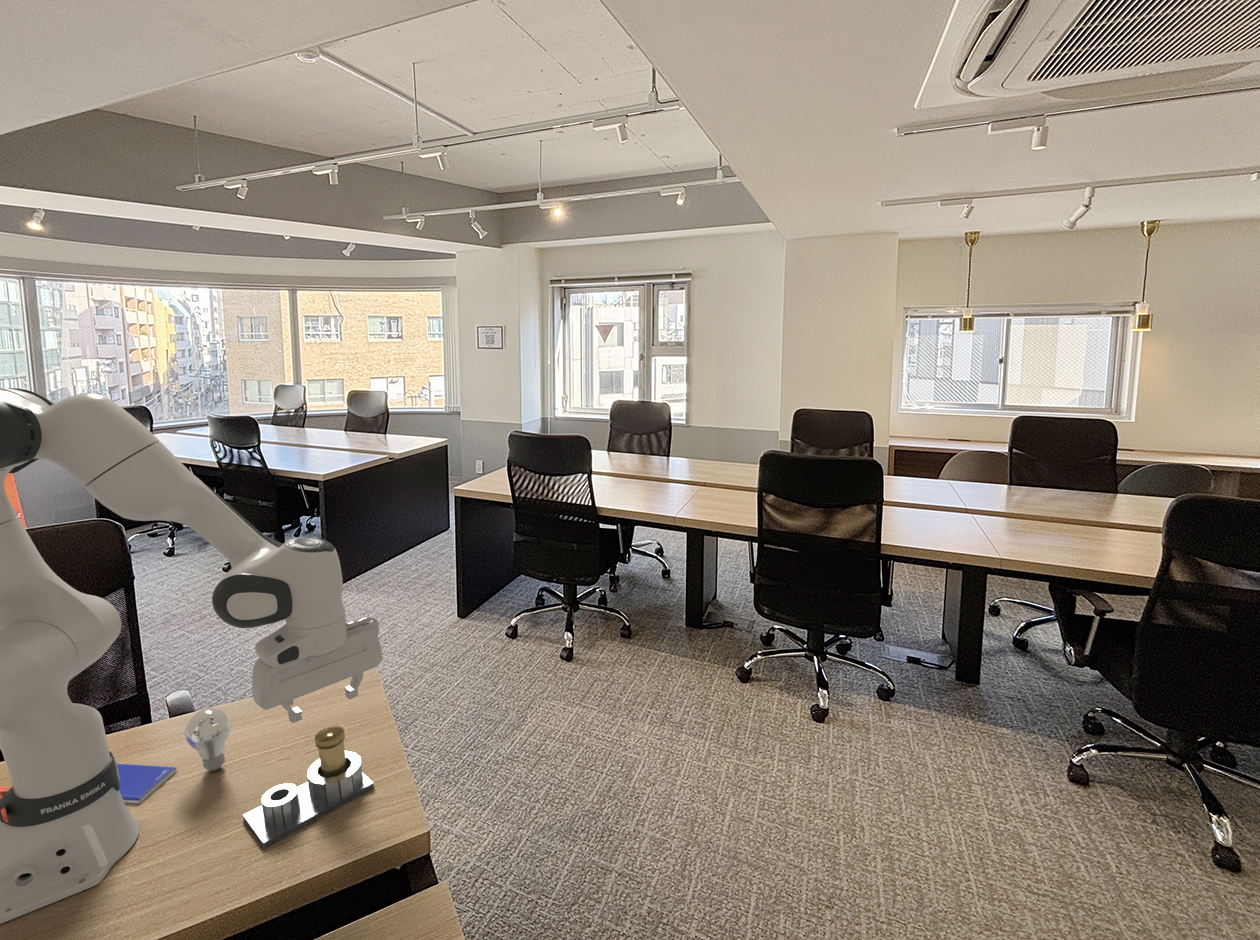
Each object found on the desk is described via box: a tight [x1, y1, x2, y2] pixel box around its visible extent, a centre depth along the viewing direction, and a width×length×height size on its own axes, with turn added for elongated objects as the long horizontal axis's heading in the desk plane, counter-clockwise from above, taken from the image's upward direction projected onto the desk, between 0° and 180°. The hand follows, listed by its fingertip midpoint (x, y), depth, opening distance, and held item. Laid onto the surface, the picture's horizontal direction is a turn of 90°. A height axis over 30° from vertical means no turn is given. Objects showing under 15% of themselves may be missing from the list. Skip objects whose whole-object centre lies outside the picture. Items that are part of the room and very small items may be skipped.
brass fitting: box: [314, 725, 347, 778], centre depth 112 cm, size 5×5×10 cm
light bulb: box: [184, 707, 232, 772], centre depth 117 cm, size 7×7×12 cm
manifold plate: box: [242, 750, 375, 849], centre depth 109 cm, size 18×9×4 cm, turn 138°
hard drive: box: [117, 763, 178, 804], centre depth 114 cm, size 2×8×12 cm
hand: (324, 707), depth 109 cm, fingers open, 8 cm apart
